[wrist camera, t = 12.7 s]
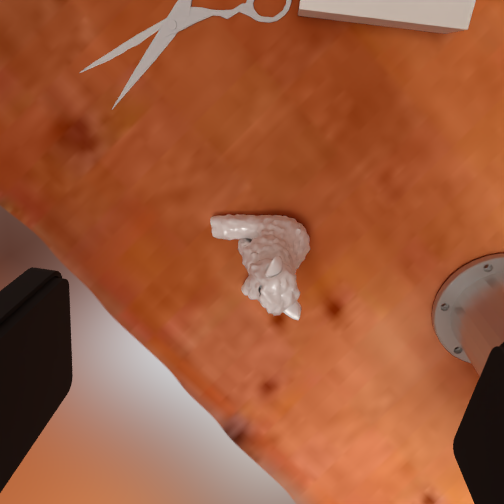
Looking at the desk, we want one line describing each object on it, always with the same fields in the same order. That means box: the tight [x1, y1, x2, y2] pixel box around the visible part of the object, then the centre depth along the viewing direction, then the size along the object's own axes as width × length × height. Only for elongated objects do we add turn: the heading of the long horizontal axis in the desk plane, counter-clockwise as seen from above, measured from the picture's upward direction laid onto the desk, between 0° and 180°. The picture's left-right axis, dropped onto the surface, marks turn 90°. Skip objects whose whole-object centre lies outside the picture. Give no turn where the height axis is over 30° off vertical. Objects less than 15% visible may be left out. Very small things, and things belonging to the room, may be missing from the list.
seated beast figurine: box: [210, 214, 310, 320], centre depth 39 cm, size 10×9×12 cm
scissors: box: [80, 0, 292, 109], centre depth 37 cm, size 11×1×20 cm
